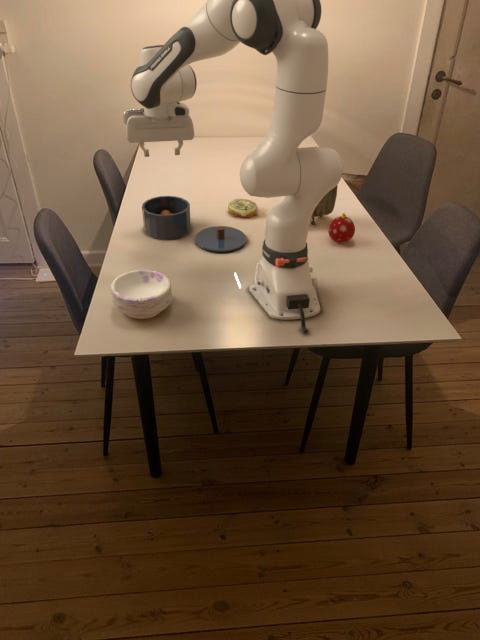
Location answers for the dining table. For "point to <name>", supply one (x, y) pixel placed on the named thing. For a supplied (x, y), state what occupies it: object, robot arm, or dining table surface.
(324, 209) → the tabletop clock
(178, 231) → the crock
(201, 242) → the crock lid
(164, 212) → the orange rounded bar
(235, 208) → the decorated donut
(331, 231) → the christmas ornament
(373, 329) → the dining table surface
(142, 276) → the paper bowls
